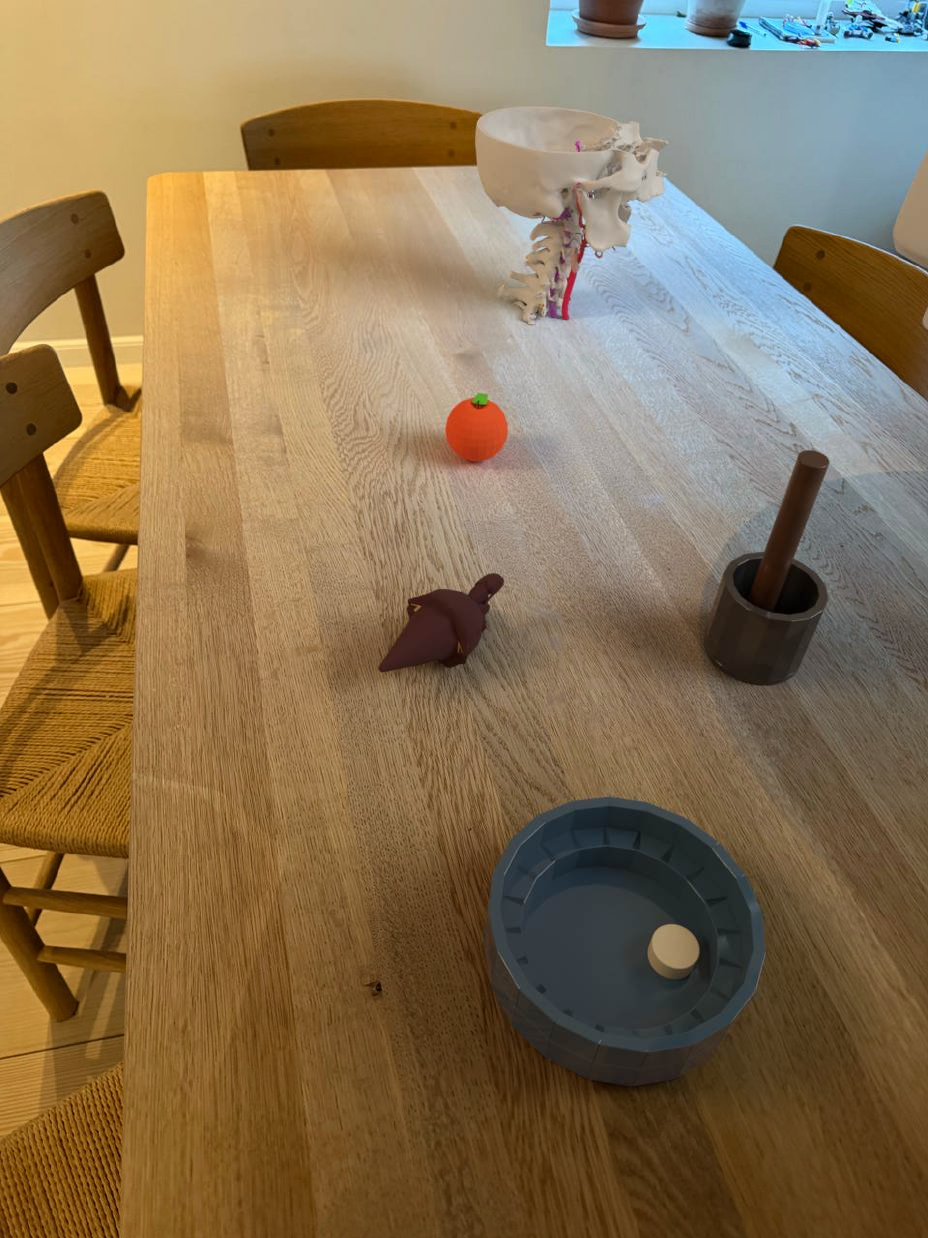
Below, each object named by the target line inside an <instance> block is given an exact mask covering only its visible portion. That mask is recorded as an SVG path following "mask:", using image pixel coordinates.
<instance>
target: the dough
mask: <svg viewBox="0 0 928 1238" xmlns="http://www.w3.org/2000/svg"><path fill="white" fill-rule="evenodd" d="M699 953H700V949H699V944H698V942H697V940H696V938H695V936H694V935H693V934H692V933H691V932H690V931H689V930H688V929H686V928H684V927H682V926H680V925H675V924H667V925H664V926H661V927H660V928H658V929H657V930H656V931H655V932H654V934H653V936H652V939H651V942H650V944H649V947H648V959H649V962H650V964H651V966H652V967H653V969H654V970H655V971H656V972H657V973H659V974H660V975H662V976H663V977H666V978H669V979H682V978H684V977H686V976H688V975H689V974H690V973H691V972H692V970H693V968H694V966H695V964H696V962H697V960H698V957H699Z"/></svg>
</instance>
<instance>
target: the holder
mask: <svg viewBox="0 0 928 1238" xmlns="http://www.w3.org/2000/svg"><path fill="white" fill-rule="evenodd" d="M763 554H764V551H757V552H750V553H743V554H741V555H739V556H738V557H736V558H734V559H732V560H730V561H729V562H728V564H727V566H726V567H725V569H724V571H723V573H722V576H721V579H720V583H719V586H718V588H717V592H716V595H715V598H714V602H713V605H712V608H711V611H710V614H709V618H708V620H707V624H706V627H705V629H704V630H705V631H704V636H703V649H704V651H705V653H706V655H707V657H708V658H709V660H710V662H711V663H713V665H714V666H715V667H716V668H717V669H719V670H720V671H721V672H723V673H724V674H726V675H727V676H729V677H731V678H733V679H736V680H737V681H740V682H743V683H746V684H751V685H757V686H758V685H759V686H771V685H778V684H781V683H783V682H784V683H785V682H786V681H789V680H790V679H791V678H792V677H794V676H795V675H796V673H798V671H799V668H800V666H801V665H802V662H803V660H804V658H805V656H806V653H807V650H808V649H809V646H810V644H811V642H812V639H813V637H814V634H815V632H816V629H817V628H818V627H817V626H818V625H819V623H820V621H821V618H822V616H823V613H824V611H825V609H826V606H827V604H828V601H829V593H828V589H827V585H826V584H825V581H824V580H822V578H821V577H820V575H819V574H818V573H817V572H816V571H815V570H813V569H812V568H811V567H810V566H808V565H806V564H805V563H803V562H802V561H800V560H798V559H795V558H793V561H792V563H791V566H790V569H789V571H788V574H787V576H786V579H785V582H784V584H783V587H782V590H781V592H780V595H779V597H778V600H777V603H776V605H775V608H774V611H773V613H771V612H769V611H766V610H764V609H761V608H758V607H756V606H754V605H752V604H751V603H750V602H748V601H747V600H748V597H749V594H750V591H751V588H752V586H753V583H754V580H755V577H756V574H757V571H758V568H759V566H760V563H761V560H762V557H763Z"/></svg>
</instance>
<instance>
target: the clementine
mask: <svg viewBox="0 0 928 1238" xmlns="http://www.w3.org/2000/svg"><path fill="white" fill-rule="evenodd" d="M444 430H445V437H446V440H447V443H448V445H449V447H450V448H451V450H452V451H453V452H454V453H455V454H456V455H457V456H458V457H460V458H461V459H464V460H466V461H470V462H483V461H488V460H490V459H492V458H493V457H494V456H496V455H497V454H499V452H501V450H502V448H503V447H504V445H505V444H506V442H507V438H508V433H509V423H508V420H507V417H506V415H505V412H504V411H503V410H502V408H500V406H498V404H497V403H495V402H494V401H492V400H490V399H489V394H488V393H482V392H479V393H477V394H476V395H475V396H474V397H470V398H467V399H465V400H462V401H460V402H458V404H456V405H455V406H454V407H453V408H452V409H451V411H450V413H449V414H448V416H447V418H446V423H445V429H444Z"/></svg>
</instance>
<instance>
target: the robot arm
mask: <svg viewBox="0 0 928 1238" xmlns="http://www.w3.org/2000/svg"><path fill="white" fill-rule="evenodd" d="M913 178H914V179H913V180H912V183H911V185H910V187H909V189H908V192H907V193H906V196H905V198H904V200H903V203H902V205H901V208H900V210H899V212H898V216H897V218H896V220H895V223H894V226H893V230H892V236H893V244H894V248H895V252H897V253H898V254H899V255H901V256H902V257H904V258H907V259H908V260H910V261H912V262H914V263H915V264H917V265H919V266H921V267H924V268H926V269H928V150H927V151H926V152H925V155H924V157H923V159H922V161H921V163H920V165H919V167H918V169H917V171H916V174H915V176H914V177H913ZM922 326H923V327H924V329H926V330H928V306H927V308H926V310H925V313H924V315H923V317H922Z"/></svg>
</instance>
